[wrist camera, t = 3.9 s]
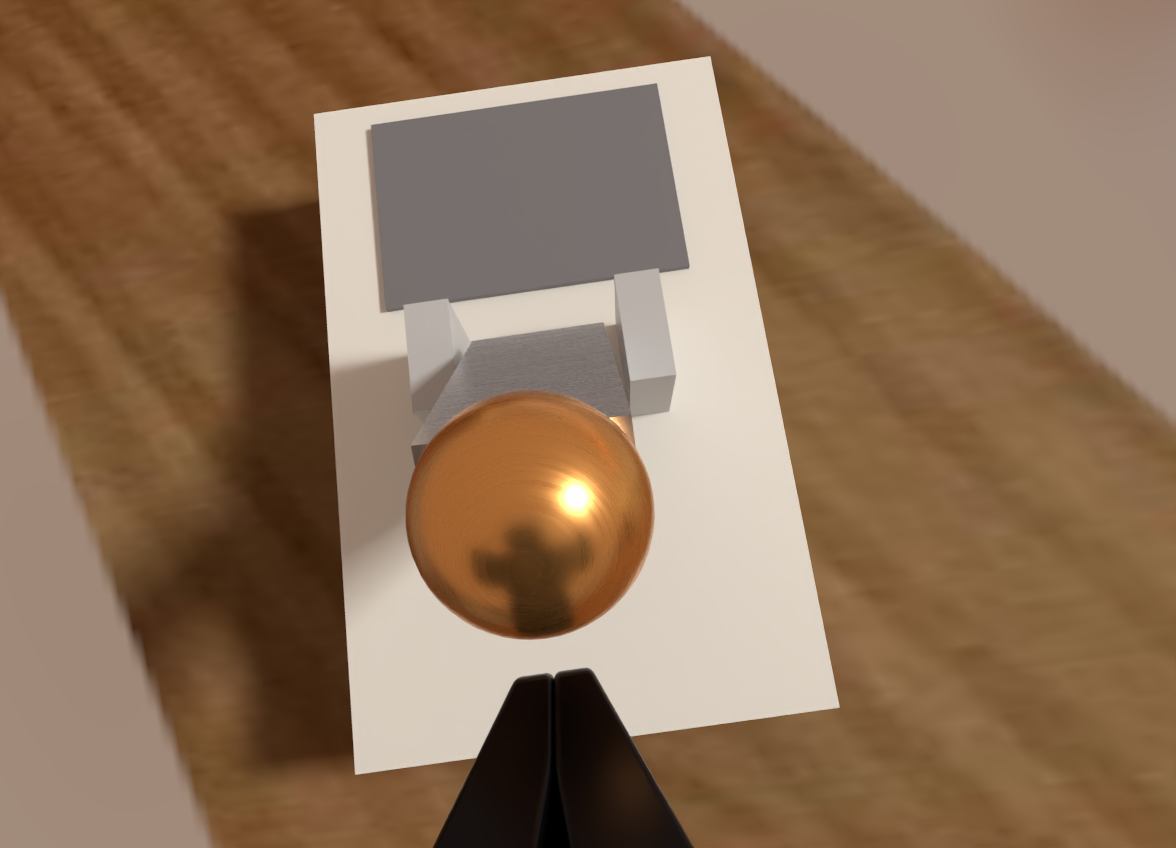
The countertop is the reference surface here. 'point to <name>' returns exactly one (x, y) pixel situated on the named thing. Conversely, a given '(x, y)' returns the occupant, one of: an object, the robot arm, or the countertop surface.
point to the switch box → (648, 374)
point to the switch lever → (530, 486)
